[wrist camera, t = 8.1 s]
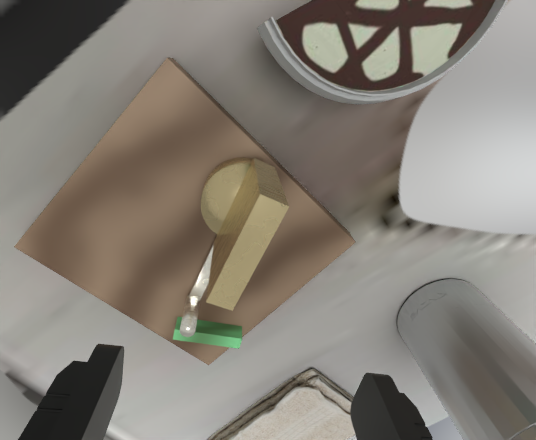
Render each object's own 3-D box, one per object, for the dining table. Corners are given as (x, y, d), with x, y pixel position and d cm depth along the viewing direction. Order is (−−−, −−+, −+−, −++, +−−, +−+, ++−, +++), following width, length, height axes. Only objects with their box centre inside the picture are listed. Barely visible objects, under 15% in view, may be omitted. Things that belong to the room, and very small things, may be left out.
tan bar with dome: (224, 137, 24) (217, 175, 15) (298, 171, 25) (327, 222, 17) (158, 292, 29) (126, 382, 20) (222, 313, 30) (217, 404, 22)
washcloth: (370, 402, 42) (379, 427, 39) (268, 470, 46) (270, 497, 43) (307, 357, 37) (313, 381, 35) (202, 437, 42) (200, 464, 39)
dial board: (348, 231, 30) (361, 251, 27) (210, 349, 35) (207, 378, 32) (172, 58, 23) (162, 57, 20) (28, 235, 28) (0, 257, 25)
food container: (286, 121, 26) (312, 152, 17) (250, 39, 23) (259, 23, 14) (438, 46, 24) (557, 34, 15) (418, -50, 22) (548, -132, 13)
